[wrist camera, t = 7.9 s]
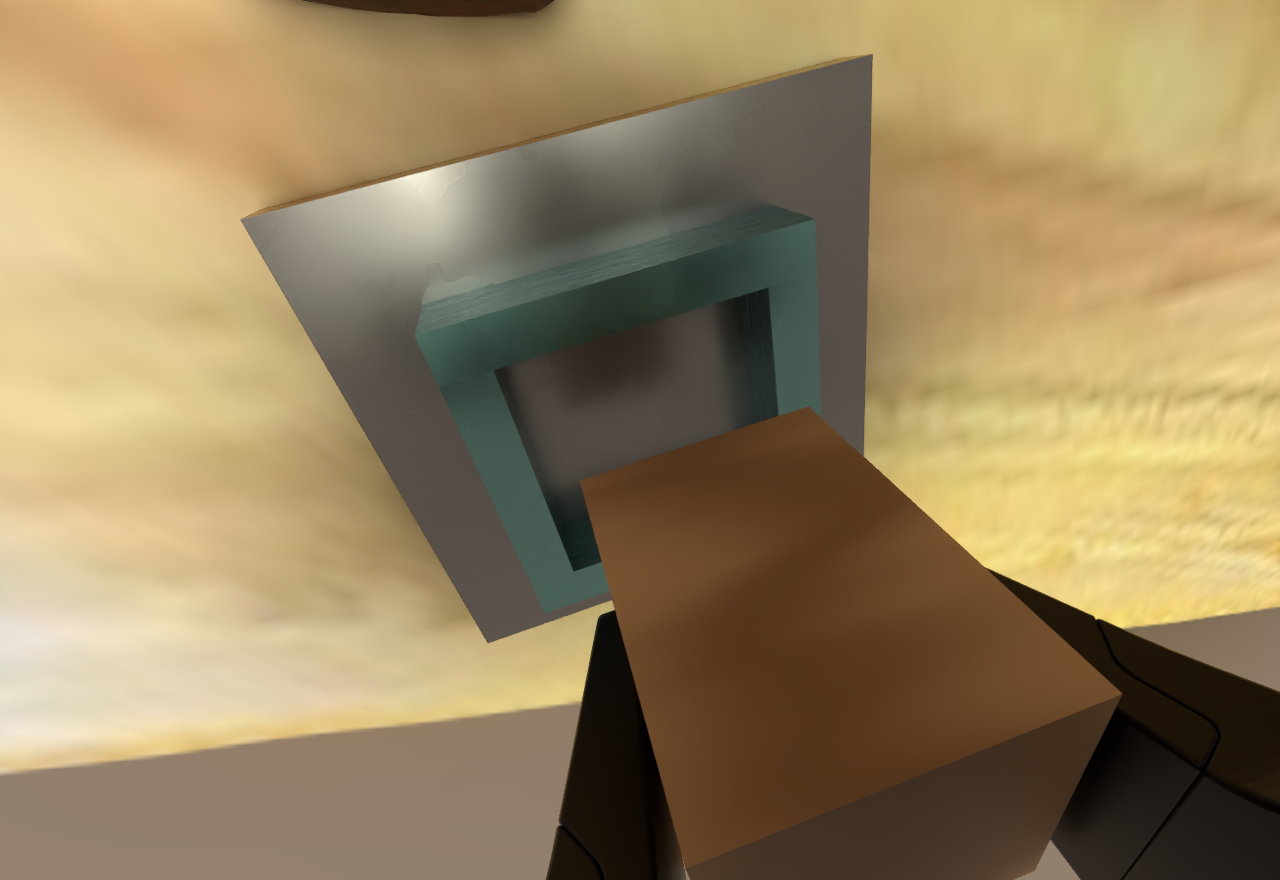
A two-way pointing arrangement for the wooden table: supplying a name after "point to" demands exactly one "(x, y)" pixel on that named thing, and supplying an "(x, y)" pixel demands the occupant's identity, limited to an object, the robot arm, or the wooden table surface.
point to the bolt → (442, 6)
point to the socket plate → (589, 313)
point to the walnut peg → (834, 668)
